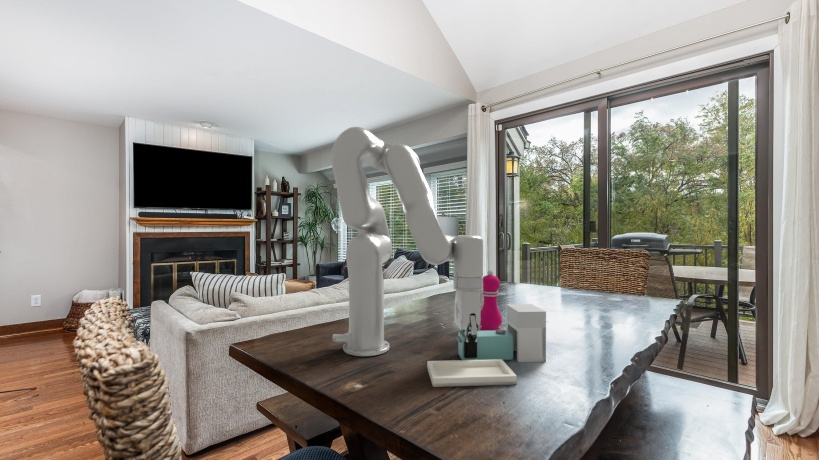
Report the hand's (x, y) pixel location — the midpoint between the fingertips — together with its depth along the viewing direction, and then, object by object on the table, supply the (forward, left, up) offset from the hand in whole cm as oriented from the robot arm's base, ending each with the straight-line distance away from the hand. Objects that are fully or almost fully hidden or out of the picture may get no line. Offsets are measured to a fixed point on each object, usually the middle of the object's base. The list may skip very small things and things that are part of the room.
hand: (467, 352), depth 96 cm
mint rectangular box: (+5, 0, -1) cm, 5 cm away
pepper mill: (+12, +20, -1) cm, 23 cm away
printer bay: (+15, 0, -1) cm, 15 cm away
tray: (-2, -12, -1) cm, 12 cm away
